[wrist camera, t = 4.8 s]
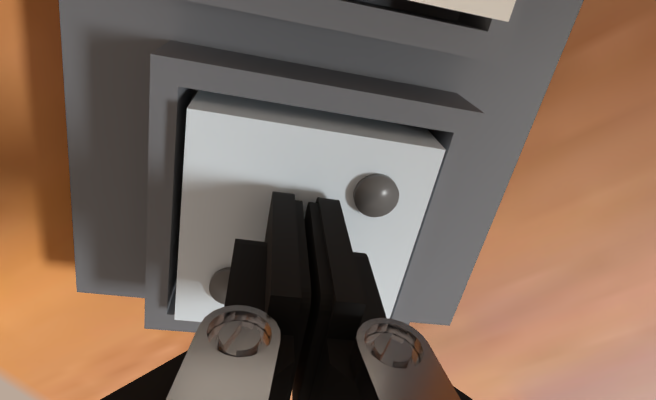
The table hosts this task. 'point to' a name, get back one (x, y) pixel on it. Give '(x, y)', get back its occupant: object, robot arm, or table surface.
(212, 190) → the tile three
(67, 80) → the button board
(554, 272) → the table surface
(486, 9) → the tile one
